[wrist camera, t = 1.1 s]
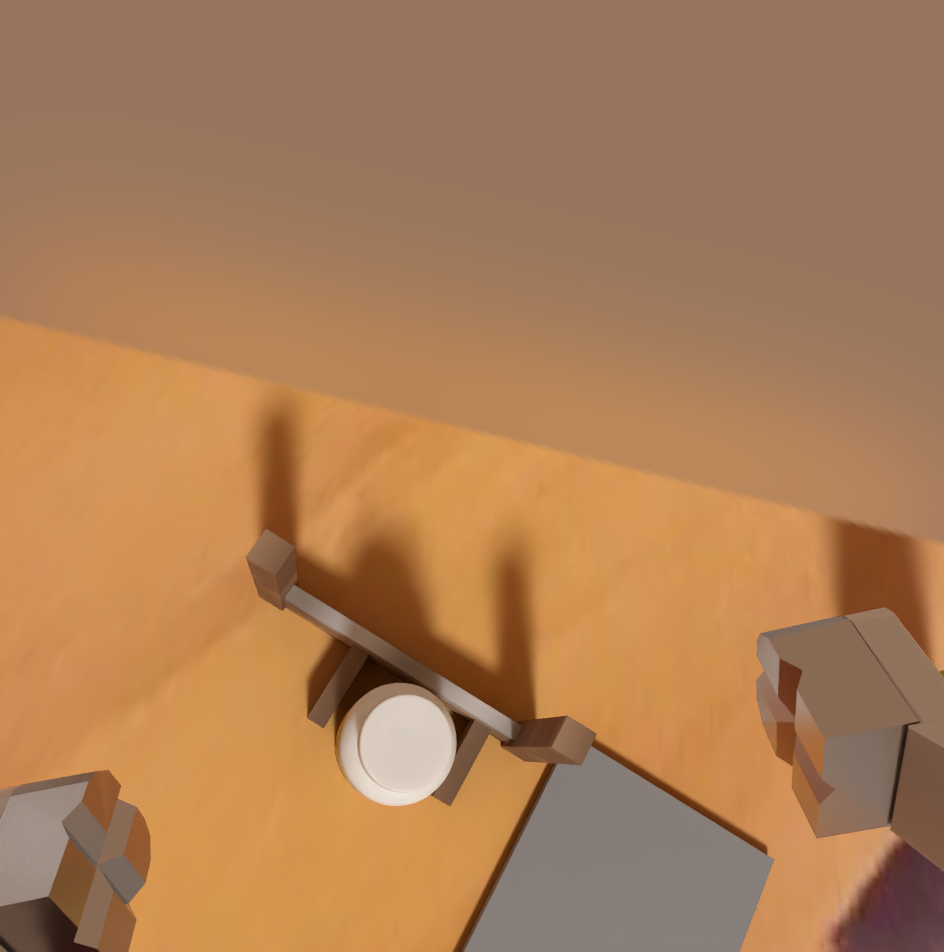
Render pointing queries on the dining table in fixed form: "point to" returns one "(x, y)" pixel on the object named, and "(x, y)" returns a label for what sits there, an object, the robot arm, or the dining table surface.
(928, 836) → the robot arm
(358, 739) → the supplement bottle
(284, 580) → the dispenser cradle
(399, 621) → the dining table surface
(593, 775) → the grey mat
